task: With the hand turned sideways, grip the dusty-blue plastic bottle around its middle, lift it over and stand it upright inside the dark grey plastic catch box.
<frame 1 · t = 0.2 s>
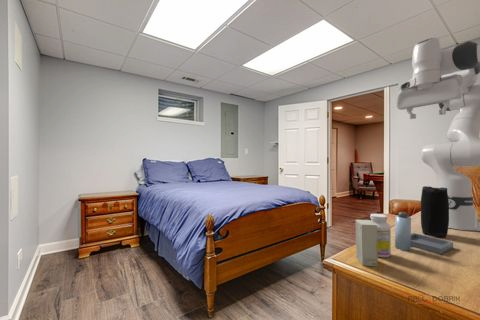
hand: (427, 116, 88), 48 cm above the table, tool pointing down, fingers open, 8 cm apart
supplement bottle: (378, 254, 74), on the table
blue bottle: (402, 248, 78), on the table
skincare box: (366, 262, 68), on the table
catch box: (425, 245, 81), on the table
portable speaker: (434, 235, 92), on the table
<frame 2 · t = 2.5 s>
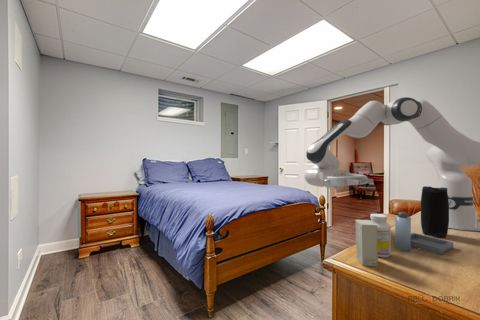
hand: (365, 182, 89), 22 cm above the table, tool horizontal, fingers open, 8 cm apart
nothing on the table moved.
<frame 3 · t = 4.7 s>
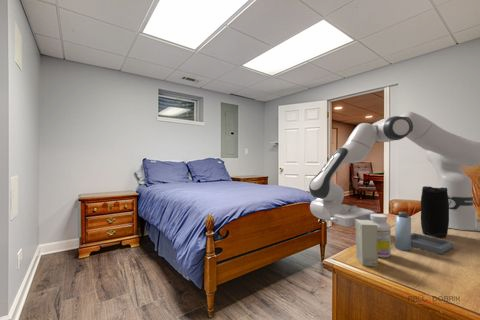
hand: (374, 222, 86), 7 cm above the table, tool horizontal, fingers open, 8 cm apart
nothing on the table moved.
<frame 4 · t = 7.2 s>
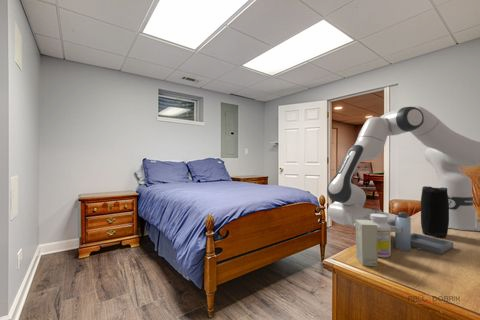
hand: (405, 229, 77), 7 cm above the table, tool horizontal, fingers closed on blue bottle, 4 cm apart
blue bottle: (402, 248, 78), on the table, touching gripper
everything else where it was.
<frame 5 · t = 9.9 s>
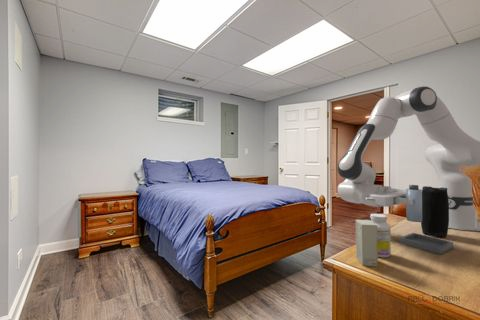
hand: (417, 201, 78), 17 cm above the table, tool horizontal, fingers closed on blue bottle, 4 cm apart
blue bottle: (414, 220, 79), point 9 cm above the table, touching gripper
everything else where it was.
when the fingers open (9 cm above the table, at t = 12.7 s): blue bottle drops 1 cm, resting on catch box.
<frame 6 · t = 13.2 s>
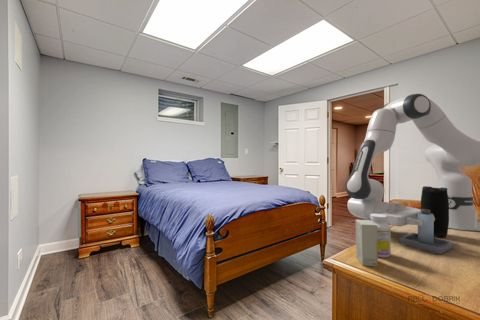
hand: (428, 221, 80), 9 cm above the table, tool horizontal, fingers open, 8 cm apart
blue bottle: (425, 243, 81), point 1 cm above the table, touching catch box
everything else where it was.
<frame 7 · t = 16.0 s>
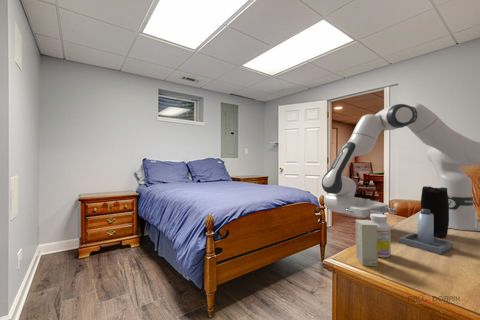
hand: (389, 213, 91), 9 cm above the table, tool horizontal, fingers open, 8 cm apart
nothing on the table moved.
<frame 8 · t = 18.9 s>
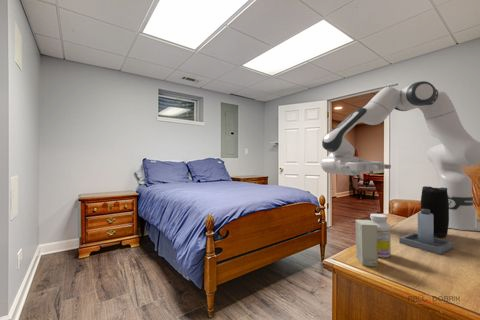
hand: (384, 167, 93), 28 cm above the table, tool horizontal, fingers open, 8 cm apart
nothing on the table moved.
at the end: blue bottle 0.0 cm off-centre on the catch box, point 0.5 cm above the catch box's base; blue bottle tilted 1°; the gripper is holding nothing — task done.
